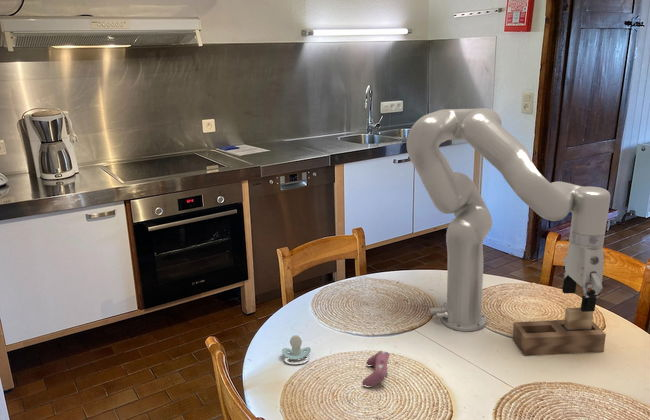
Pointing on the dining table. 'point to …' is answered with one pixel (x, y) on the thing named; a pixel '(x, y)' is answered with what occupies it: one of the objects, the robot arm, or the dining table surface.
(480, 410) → the dining table surface
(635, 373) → the dining table surface
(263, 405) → the dining table surface
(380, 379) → the purple curved piece
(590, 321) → the rail end
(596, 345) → the hollow wooden brick
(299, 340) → the pacifier
